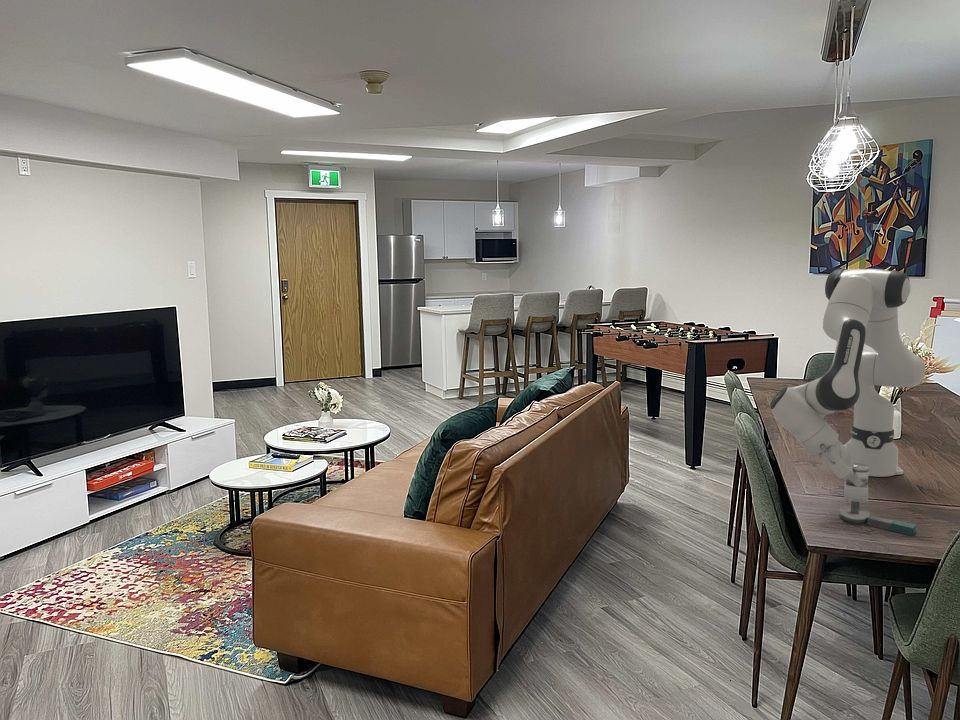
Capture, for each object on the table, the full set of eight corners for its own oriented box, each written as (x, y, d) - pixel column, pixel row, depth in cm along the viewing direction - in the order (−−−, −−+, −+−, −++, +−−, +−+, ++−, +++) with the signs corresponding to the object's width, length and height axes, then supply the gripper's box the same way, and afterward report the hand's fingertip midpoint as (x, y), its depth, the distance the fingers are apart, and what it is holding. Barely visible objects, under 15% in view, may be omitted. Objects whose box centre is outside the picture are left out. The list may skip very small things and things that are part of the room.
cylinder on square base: (843, 494, 191) (846, 461, 190) (865, 496, 189) (868, 463, 188) (844, 500, 186) (847, 467, 185) (867, 503, 184) (870, 469, 183)
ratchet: (835, 520, 189) (836, 500, 188) (844, 513, 193) (845, 493, 193) (910, 538, 176) (912, 517, 176) (917, 530, 181) (919, 509, 180)
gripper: (831, 443, 179) (873, 485, 176) (829, 425, 197) (866, 463, 194) (811, 458, 181) (851, 500, 178) (810, 439, 199) (847, 477, 197)
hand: (859, 480), depth 187 cm, fingers closed on cylinder on square base, 5 cm apart
